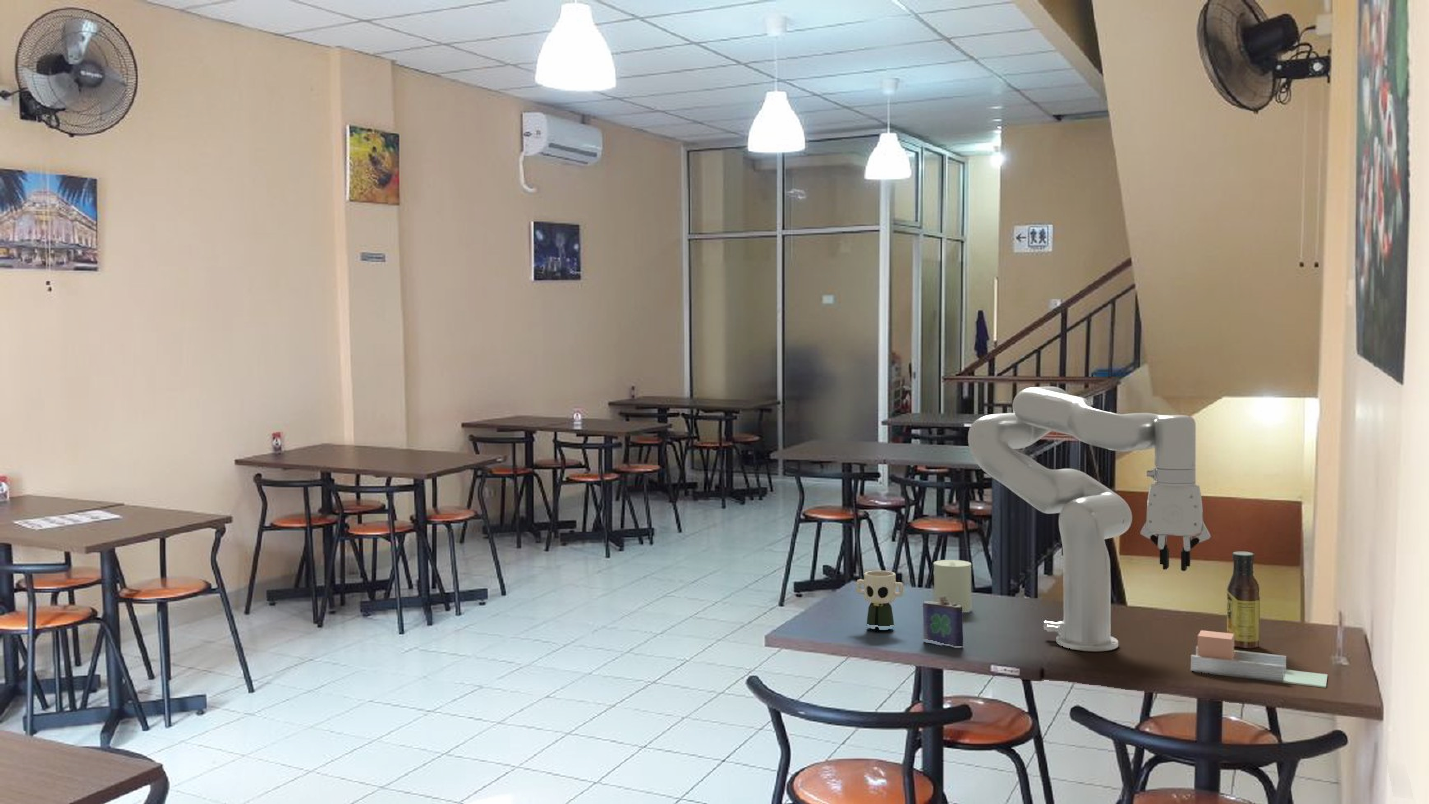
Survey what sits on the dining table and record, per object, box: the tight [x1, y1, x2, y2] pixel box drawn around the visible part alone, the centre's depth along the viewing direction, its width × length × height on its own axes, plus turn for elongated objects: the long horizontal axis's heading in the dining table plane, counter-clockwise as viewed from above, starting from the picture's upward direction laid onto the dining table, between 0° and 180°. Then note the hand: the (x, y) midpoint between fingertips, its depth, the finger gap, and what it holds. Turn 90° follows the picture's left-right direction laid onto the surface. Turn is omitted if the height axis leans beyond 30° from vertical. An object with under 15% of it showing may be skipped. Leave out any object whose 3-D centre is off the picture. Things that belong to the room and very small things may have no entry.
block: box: [1197, 630, 1235, 659], centre depth 215 cm, size 6×5×6 cm
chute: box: [1190, 645, 1287, 684], centre depth 213 cm, size 16×9×3 cm, turn 59°
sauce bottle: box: [1226, 550, 1261, 650], centre depth 231 cm, size 6×6×20 cm
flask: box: [922, 595, 964, 647], centre depth 236 cm, size 9×3×11 cm, turn 50°
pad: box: [1283, 669, 1328, 689], centre depth 207 cm, size 7×9×1 cm
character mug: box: [856, 570, 904, 626], centre depth 250 cm, size 11×7×13 cm, turn 65°
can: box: [933, 559, 973, 611], centre depth 269 cm, size 9×9×12 cm
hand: (1174, 568), depth 218 cm, fingers open, 2 cm apart
